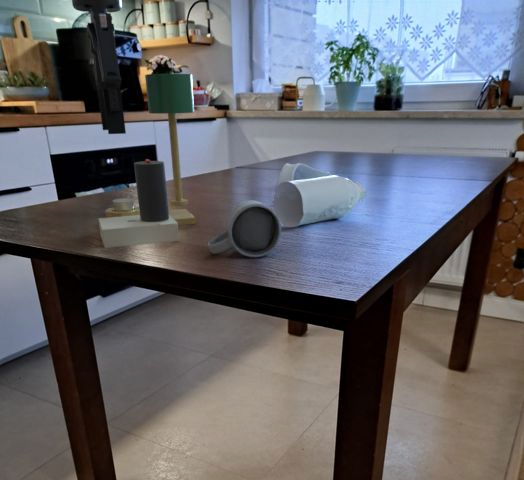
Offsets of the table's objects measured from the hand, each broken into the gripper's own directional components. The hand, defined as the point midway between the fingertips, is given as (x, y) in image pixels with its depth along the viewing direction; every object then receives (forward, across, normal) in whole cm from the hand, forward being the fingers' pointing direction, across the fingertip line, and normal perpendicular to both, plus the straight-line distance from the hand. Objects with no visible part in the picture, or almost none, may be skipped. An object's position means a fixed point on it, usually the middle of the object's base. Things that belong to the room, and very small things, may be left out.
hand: (113, 131), depth 90 cm
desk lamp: (+13, +1, -10) cm, 17 cm away
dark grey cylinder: (+13, -11, -4) cm, 18 cm away
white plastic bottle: (+16, -10, -35) cm, 40 cm away
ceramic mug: (+16, -26, -15) cm, 34 cm away
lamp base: (+16, +1, -5) cm, 17 cm away
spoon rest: (+16, +22, -45) cm, 53 cm away
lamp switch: (+14, 0, 0) cm, 14 cm away
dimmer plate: (+16, -11, -1) cm, 20 cm away
